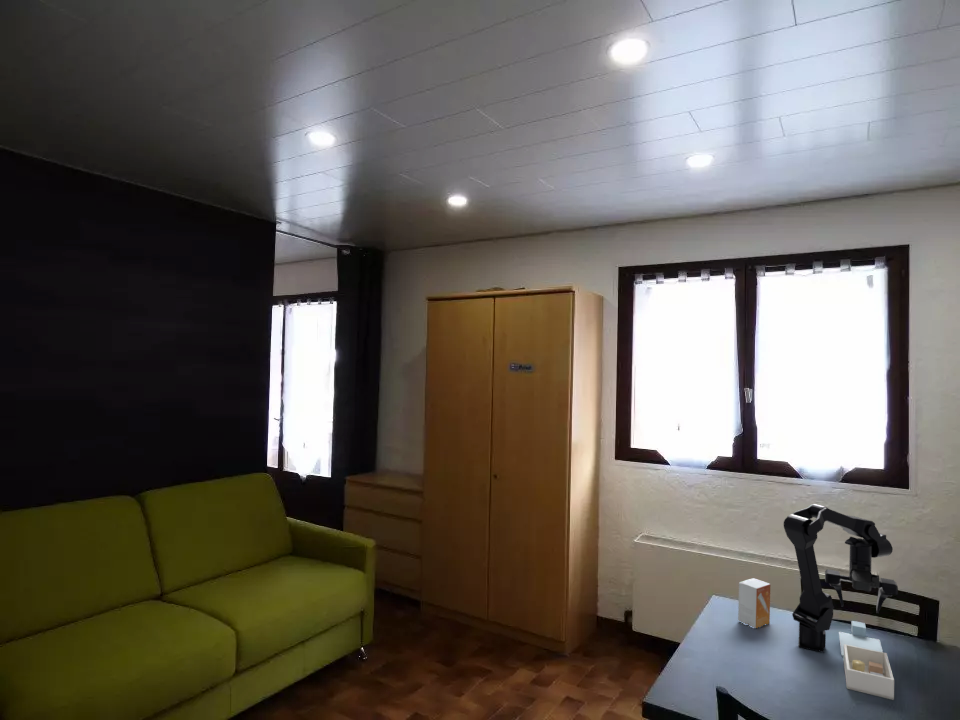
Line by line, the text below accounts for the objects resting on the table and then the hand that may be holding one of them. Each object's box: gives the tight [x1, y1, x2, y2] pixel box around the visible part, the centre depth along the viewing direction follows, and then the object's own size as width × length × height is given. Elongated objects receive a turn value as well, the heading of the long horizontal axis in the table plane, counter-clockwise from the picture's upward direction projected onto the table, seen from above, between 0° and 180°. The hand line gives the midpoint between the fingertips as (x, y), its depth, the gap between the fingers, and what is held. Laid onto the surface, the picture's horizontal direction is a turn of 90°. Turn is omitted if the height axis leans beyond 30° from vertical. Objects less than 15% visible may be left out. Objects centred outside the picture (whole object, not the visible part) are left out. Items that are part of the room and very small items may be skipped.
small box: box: [737, 577, 771, 629], centre depth 190 cm, size 8×6×13 cm
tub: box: [843, 644, 895, 701], centre depth 157 cm, size 10×16×5 cm, turn 151°
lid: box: [838, 620, 884, 658], centre depth 175 cm, size 11×20×4 cm, turn 151°
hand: (859, 609), depth 182 cm, fingers open, 9 cm apart
